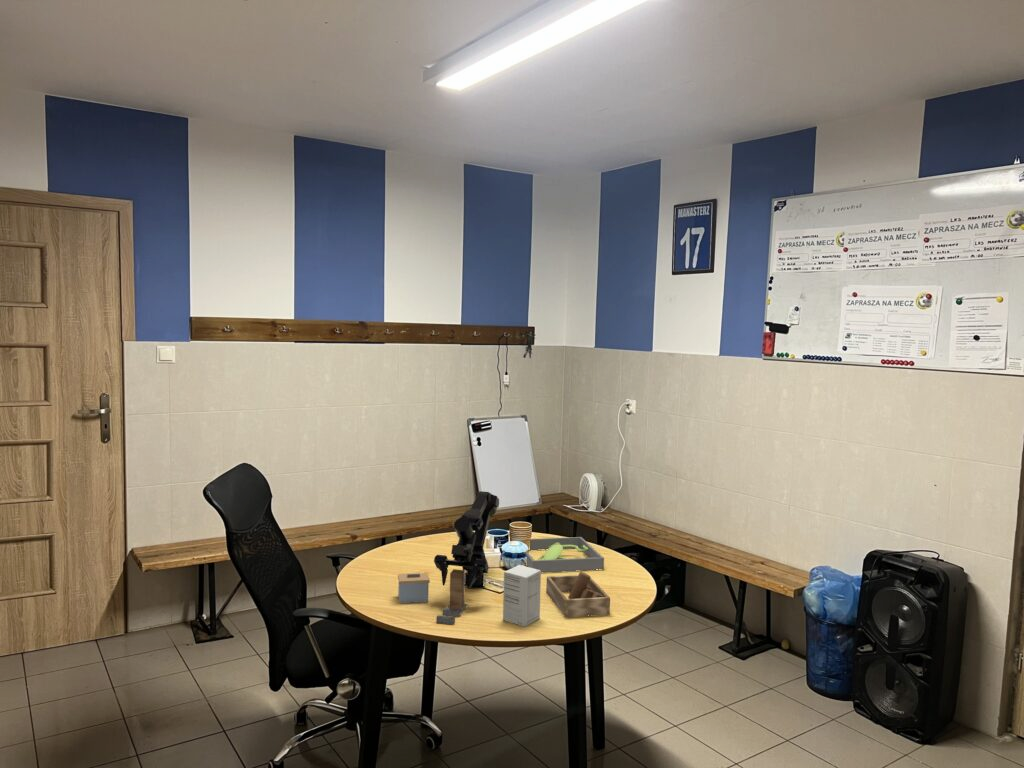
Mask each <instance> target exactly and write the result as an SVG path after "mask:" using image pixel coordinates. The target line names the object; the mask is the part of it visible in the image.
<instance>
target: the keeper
mask: <svg viewBox="0 0 1024 768" xmlns="http://www.w3.org/2000/svg"><path fill="white" fill-rule="evenodd" d="M461 615H462V612H461V610H460V609H451V608H447V607H443V608H442V615H441V614H440V615H439V614H437V616H436V617H435V618H436V619H435V620H436V622H437V623H436V624H443V623H444V625H452V624H454V625H455V623H456V616H458V617H457V618H460V617H461Z"/></svg>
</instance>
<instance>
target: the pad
mask: <svg viewBox="0 0 1024 768" xmlns="http://www.w3.org/2000/svg"><path fill="white" fill-rule="evenodd" d="M467 606H468V604H467V603H464V606H463V607H462V609H461V613H463V612H464V611H465V610H466V609H467ZM446 608H450V603H449V604H448V605H447V607H446Z"/></svg>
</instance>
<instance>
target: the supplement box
mask: <svg viewBox="0 0 1024 768" xmlns="http://www.w3.org/2000/svg"><path fill="white" fill-rule="evenodd" d="M541 580H542V573H541V570H538V569H534V568H530V567H527V566H526V565H522V564H518V565H515V566H514V567H511V568H510V569H507V570H505V571H504V572H503V593H502V594H503V601H502V606H503V607H502V620H503V621H504V620H505V622H509V623H511V624H514V623H515V625H517V624H518V626H520V627H521V626H522V627H524V626H525V627H528V626H529V625H531V624H533V623H534V622H536V621H537V620H538V619H540V616H541V614H540V613H541V588H542V587H541V584H542V581H541Z"/></svg>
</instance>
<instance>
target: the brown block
mask: <svg viewBox="0 0 1024 768" xmlns="http://www.w3.org/2000/svg"><path fill="white" fill-rule="evenodd" d="M465 573H466V570H463V569H456V568H455V569H454V568H453V569H452V570H451V571H450V575H449V604H450V608H451V609H460V610H461V609H462V607H463V606H464V604H465V583H464V579H465Z"/></svg>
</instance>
